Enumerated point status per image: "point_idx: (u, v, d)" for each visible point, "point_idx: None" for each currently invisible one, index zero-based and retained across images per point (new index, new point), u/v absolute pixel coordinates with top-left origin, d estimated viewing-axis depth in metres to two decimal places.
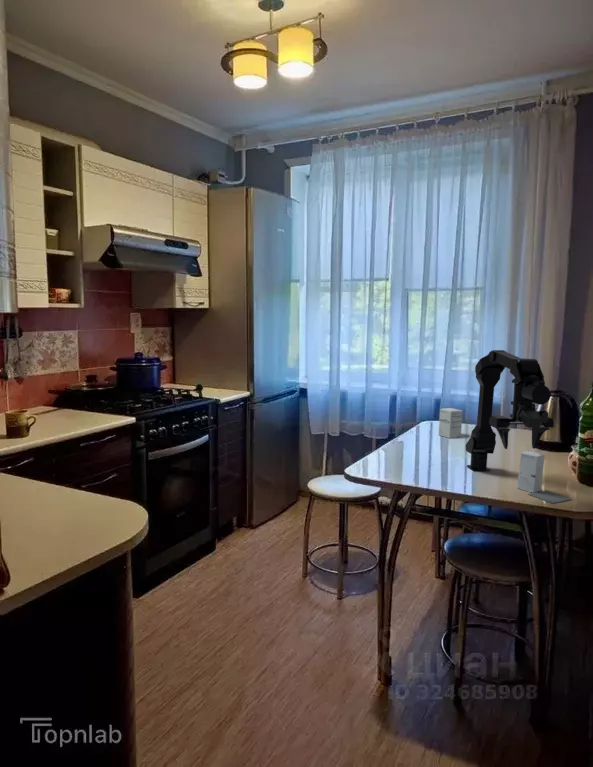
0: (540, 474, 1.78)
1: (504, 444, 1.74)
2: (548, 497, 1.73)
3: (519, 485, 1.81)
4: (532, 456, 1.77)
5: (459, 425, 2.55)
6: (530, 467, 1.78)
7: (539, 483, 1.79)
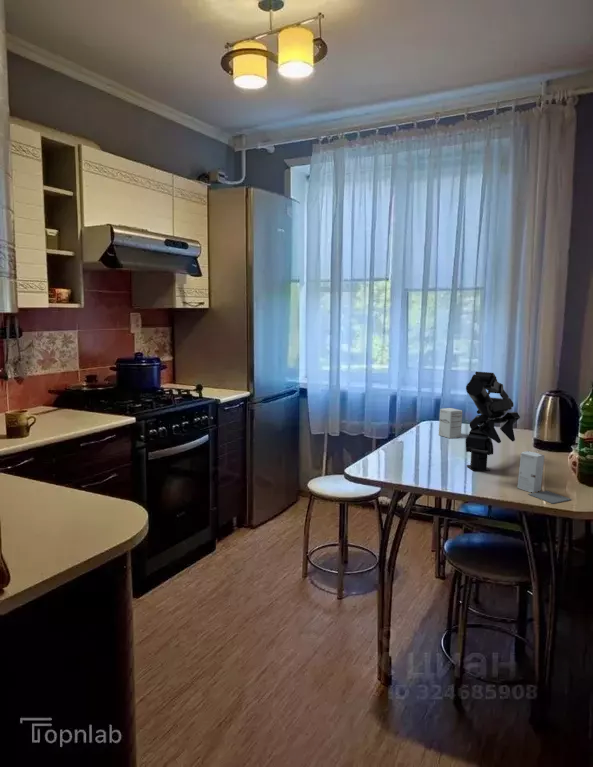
0: (540, 474, 1.78)
1: (496, 438, 1.88)
2: (548, 497, 1.73)
3: (519, 485, 1.81)
4: (532, 456, 1.77)
5: (459, 425, 2.55)
6: (530, 467, 1.78)
7: (539, 483, 1.79)
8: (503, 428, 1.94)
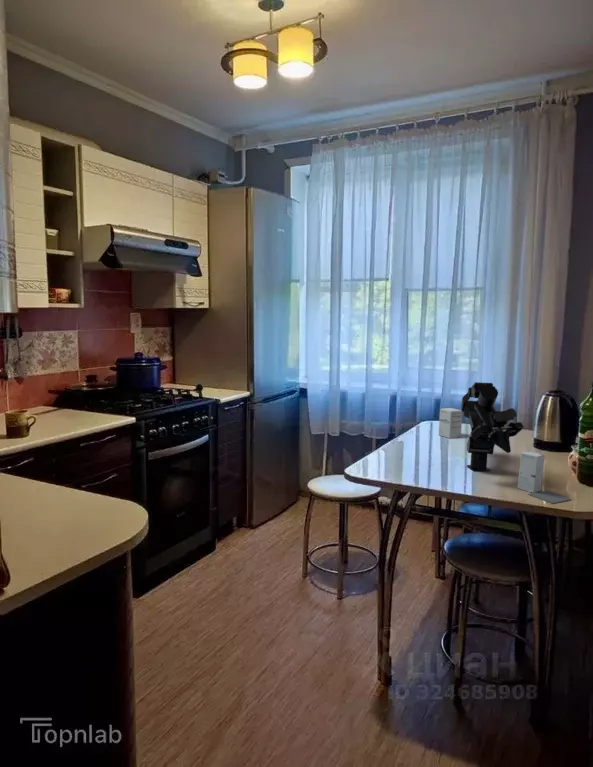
0: (540, 474, 1.78)
1: (505, 448, 1.87)
2: (548, 497, 1.73)
3: (519, 485, 1.81)
4: (532, 456, 1.77)
5: (459, 425, 2.55)
6: (530, 467, 1.78)
7: (539, 483, 1.79)
8: None
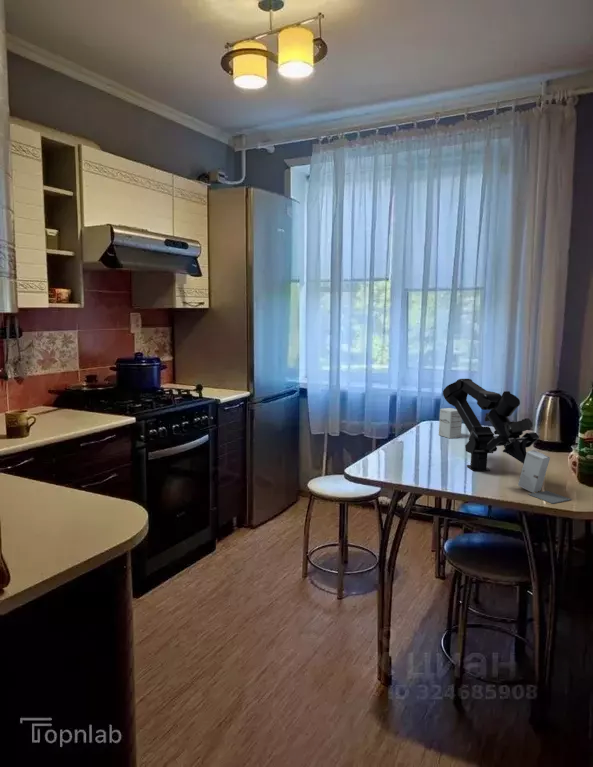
0: (543, 475, 1.78)
1: (522, 459, 1.82)
2: (548, 497, 1.73)
3: (520, 483, 1.81)
4: (538, 457, 1.76)
5: (459, 425, 2.55)
6: (534, 467, 1.77)
7: (540, 484, 1.78)
8: None
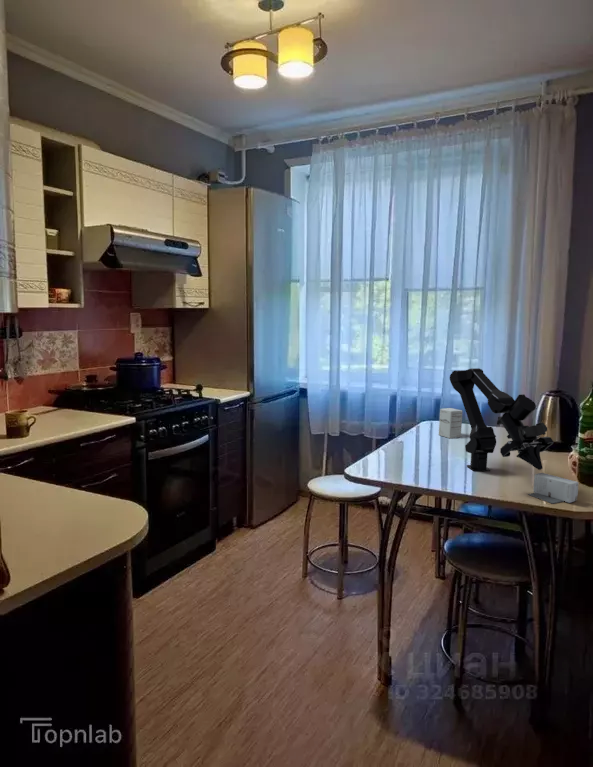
0: None
1: (536, 465, 1.77)
2: (548, 497, 1.73)
3: (537, 477, 1.76)
4: (569, 497, 1.68)
5: (459, 425, 2.55)
6: (558, 492, 1.71)
7: None
8: None
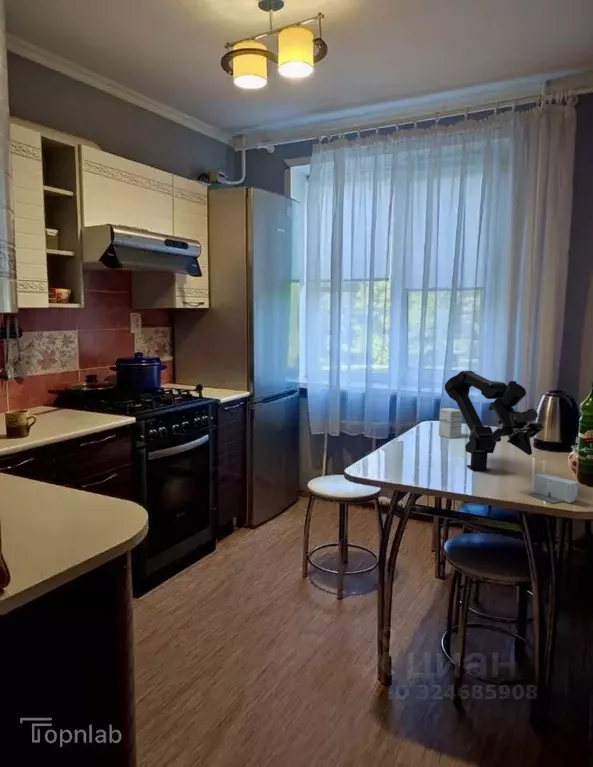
0: None
1: (526, 450, 1.80)
2: (548, 497, 1.73)
3: (537, 477, 1.76)
4: (569, 497, 1.68)
5: (459, 425, 2.55)
6: (558, 492, 1.71)
7: None
8: None
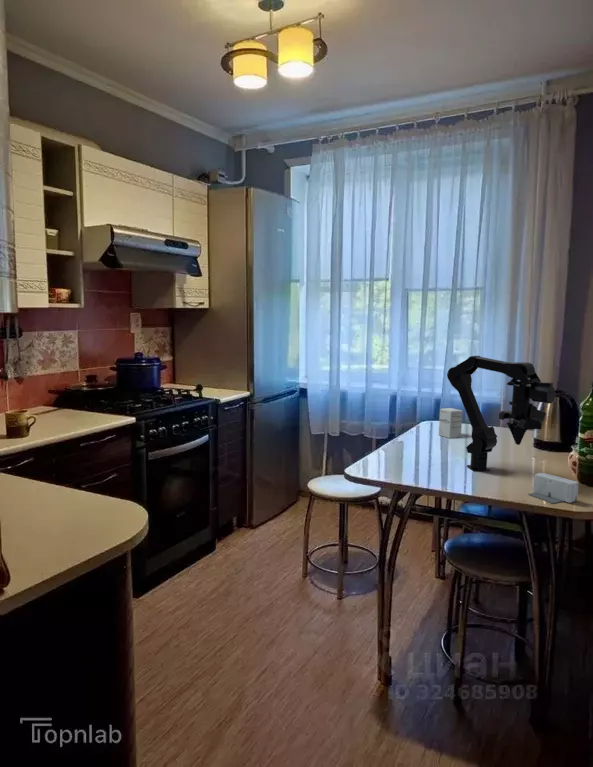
0: None
1: (519, 440, 1.91)
2: (548, 497, 1.73)
3: (537, 477, 1.76)
4: (569, 497, 1.68)
5: (459, 425, 2.55)
6: (558, 492, 1.71)
7: None
8: None
